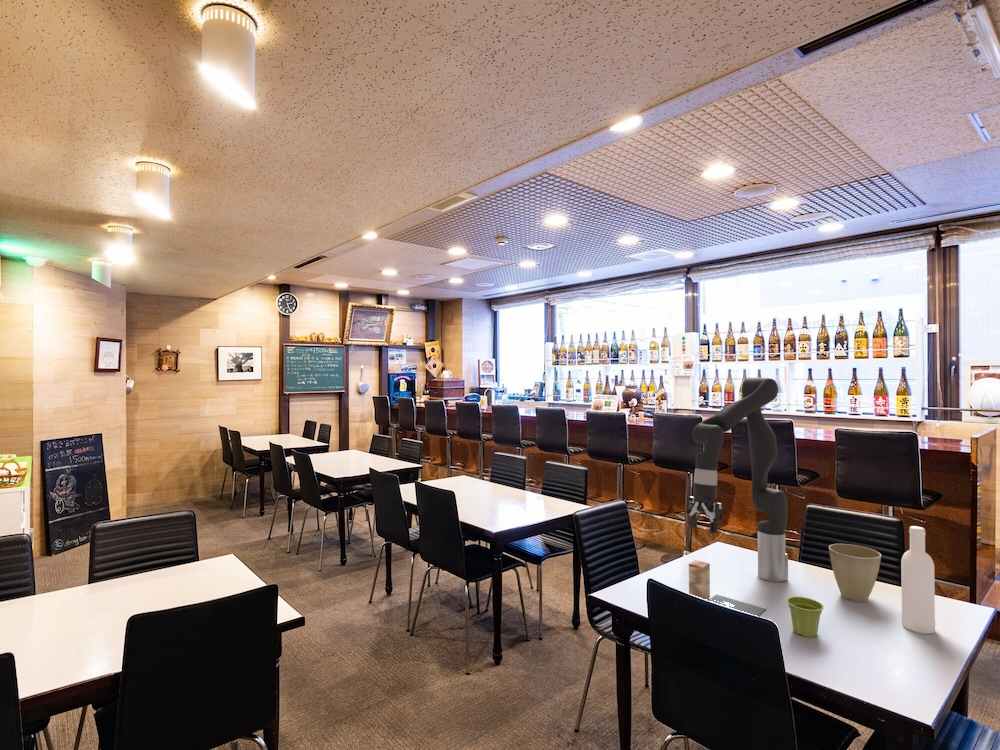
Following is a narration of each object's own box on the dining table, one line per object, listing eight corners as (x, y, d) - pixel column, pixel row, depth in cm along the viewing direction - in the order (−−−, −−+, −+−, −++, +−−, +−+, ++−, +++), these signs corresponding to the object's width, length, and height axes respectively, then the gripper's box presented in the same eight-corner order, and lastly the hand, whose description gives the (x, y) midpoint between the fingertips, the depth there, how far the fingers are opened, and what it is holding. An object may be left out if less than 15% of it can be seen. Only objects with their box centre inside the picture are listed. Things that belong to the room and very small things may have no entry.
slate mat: (699, 607, 172) (699, 606, 172) (716, 595, 182) (716, 594, 182) (751, 623, 161) (751, 622, 161) (765, 609, 170) (765, 608, 170)
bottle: (926, 636, 152) (925, 532, 152) (896, 625, 159) (895, 526, 159) (940, 630, 156) (939, 528, 156) (910, 619, 163) (909, 522, 163)
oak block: (689, 598, 179) (688, 563, 179) (695, 594, 183) (695, 559, 183) (703, 603, 176) (703, 567, 176) (709, 598, 179) (709, 563, 179)
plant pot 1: (814, 625, 159) (813, 596, 159) (830, 641, 150) (830, 610, 150) (781, 624, 160) (781, 595, 160) (796, 639, 151) (795, 609, 151)
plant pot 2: (863, 610, 169) (863, 560, 170) (819, 593, 183) (818, 547, 183) (892, 601, 176) (891, 554, 176) (846, 585, 189) (846, 541, 189)
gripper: (730, 486, 176) (727, 535, 175) (698, 479, 189) (695, 525, 188) (713, 485, 173) (711, 535, 172) (682, 479, 186) (679, 525, 185)
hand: (703, 530), depth 180 cm, fingers open, 8 cm apart
